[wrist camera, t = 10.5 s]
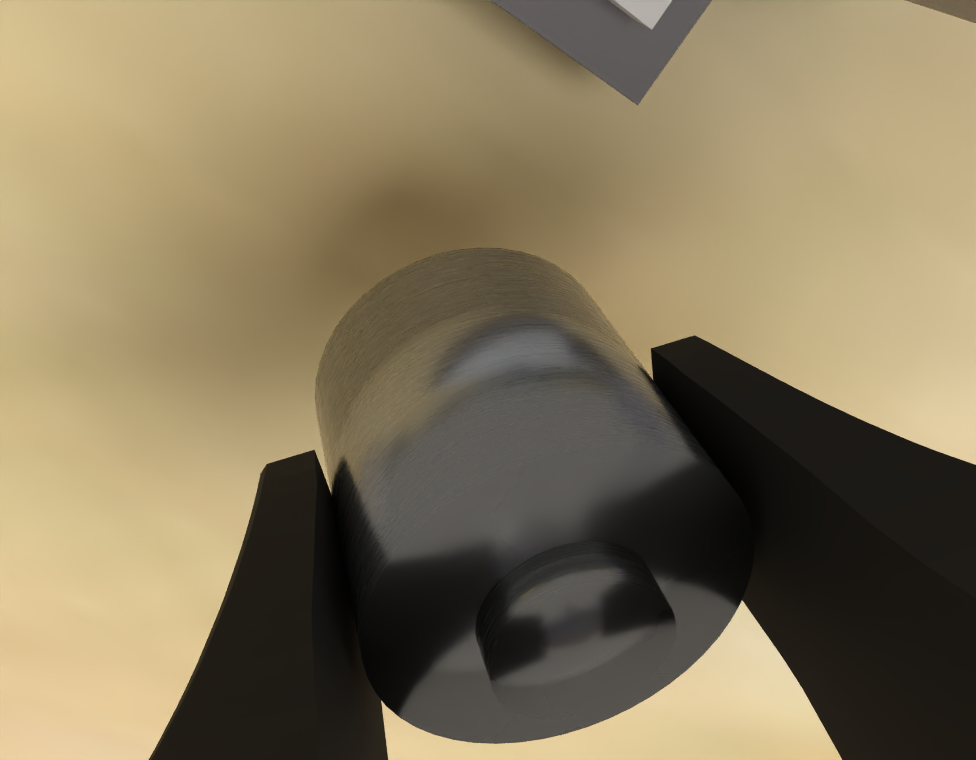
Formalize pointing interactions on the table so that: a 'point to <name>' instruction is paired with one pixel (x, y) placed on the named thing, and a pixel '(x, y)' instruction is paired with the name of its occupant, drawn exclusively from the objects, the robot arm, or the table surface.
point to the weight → (517, 503)
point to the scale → (636, 33)
